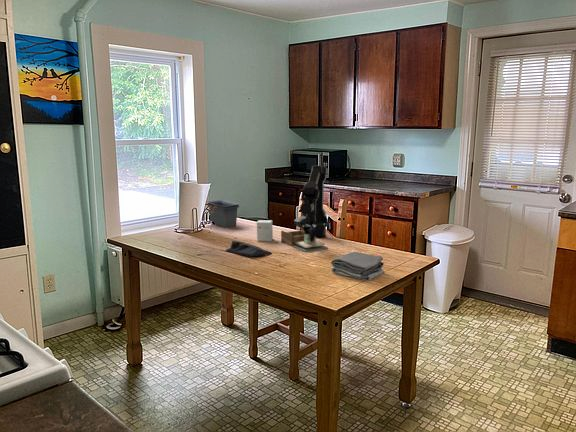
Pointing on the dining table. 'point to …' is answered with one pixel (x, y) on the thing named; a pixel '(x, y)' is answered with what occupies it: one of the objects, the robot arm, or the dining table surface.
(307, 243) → the cover plate
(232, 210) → the storage bin
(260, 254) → the crumpled dark cloth
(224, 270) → the dining table surface
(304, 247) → the rubber mat
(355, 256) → the towel
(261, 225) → the small box
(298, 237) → the walnut box
